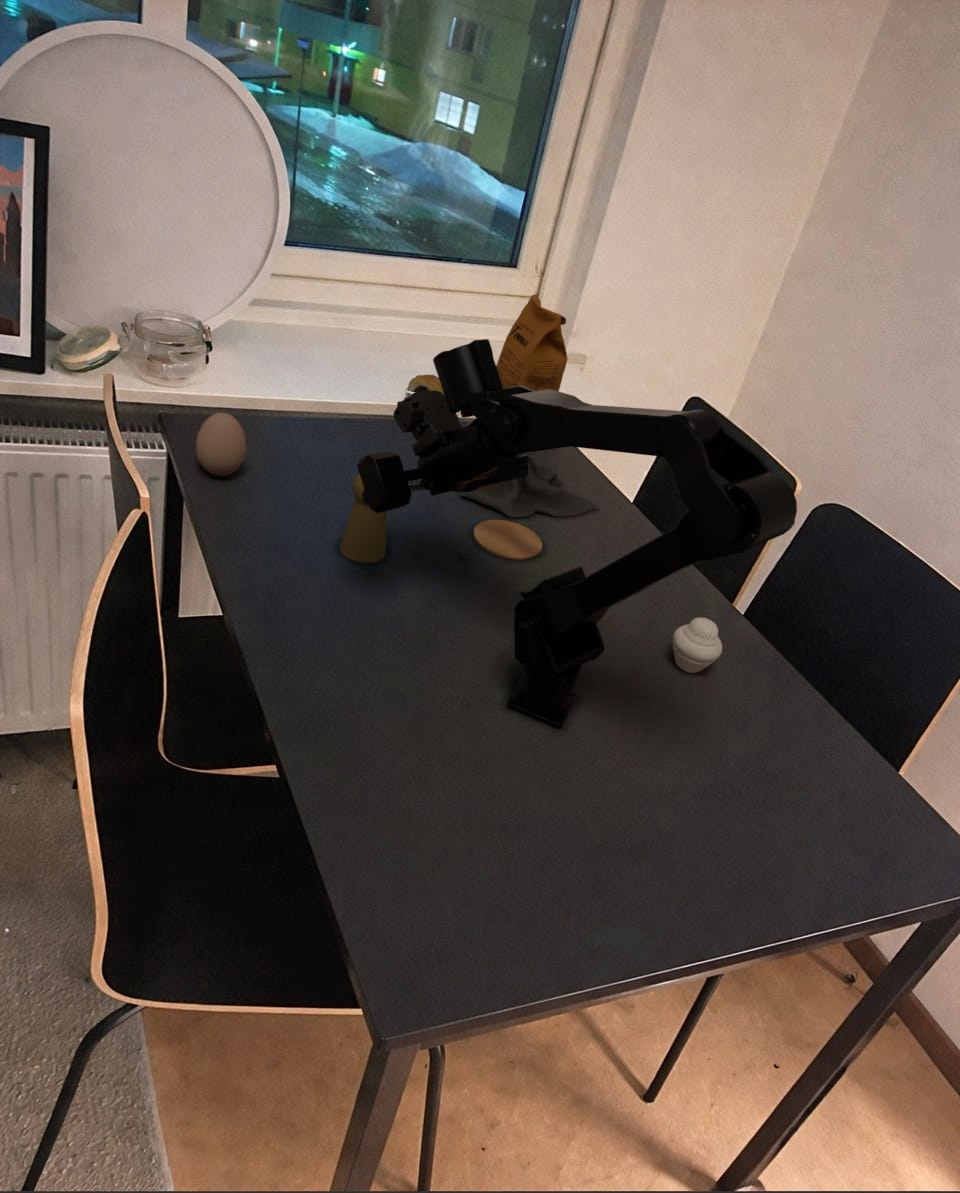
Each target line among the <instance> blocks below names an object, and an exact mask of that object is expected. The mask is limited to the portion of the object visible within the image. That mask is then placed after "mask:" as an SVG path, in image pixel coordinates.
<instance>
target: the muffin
mask: <svg viewBox="0 0 960 1193" xmlns="http://www.w3.org/2000/svg"><path fill="white" fill-rule="evenodd" d="M672 650H673V655H674V662H675V664H676V666H677V667H678V668H679V669H680V670H682V671H684V672H687V673H690V674H696V673H700V672H701V671H703V670H704V669H705V668H706V669H707V667H709V666H710V665H712V664H713V663H715V661H716V660H717V659H719V658H720V656H721V655H722V652H723V643H722V641H721V638H720V637H719V628H718V625H717V624H716V623H715V622H714V621H713V620H710V619H709V618H706V617H701V616H699V617H694V618H693V619H692V620H690V623H687V624H684V625H681V626H679V627H678V628H677V629H676V630H675V631H674V633H673V636H672Z"/></svg>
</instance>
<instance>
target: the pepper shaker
mask: <svg viewBox="0 0 960 1193" xmlns="http://www.w3.org/2000/svg"><path fill="white" fill-rule="evenodd" d="M351 487H352V488H351V489H352V494H353V496H354V500H353V503H352V507H351V509H350V513H349V516H348V519H347V522H346V524H345V525H346V526H345V529H344V530H343V531H344V532H343V536H342V538H341V541H340V544H339V550H340V553H341V554H342V556H344V557H345V558H348V559H349V560H351V561H355V562H357V563H363V564H373V563H377V562H380V561H383V559H384V558H385V557H386V552H387V527H388V526H387V525H388V524H387V523H388V522H387V521H388V511H384V512H380V513H376V512H374V511H373V510H371V508H370V505H369V504H367V503H365V502H364V500H363V497H362V493H363V491H364V486H363V483H362V480H361V477H360V474H359V473H358V474H357V475H356V476H355V477H354V479H353V481H352V486H351Z"/></svg>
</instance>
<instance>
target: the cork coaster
mask: <svg viewBox="0 0 960 1193" xmlns="http://www.w3.org/2000/svg"><path fill="white" fill-rule="evenodd" d="M472 534H473V538H474V540H475V542H476V543H477V544H478V546H480V548H482V549H483V550H485V551H486V552H488V553H490V554H492V555H494V556H497V557H500V558H503V559H508V560H516V561H524V560H525V561H526V560H530V559H533V558H536V557H537V556H539V555H540V554H541V552H542V550H543V542H542V539H541V538H540V537H539V536H538V535H537V533H536V532H534V531H533V530H531V529H530V528H528V527H527V526H525V525H522V524H519V523H517V522H513V521H509V520H504V519H487V520H484V521H481V522H479V523H477V524H476V525H475V527H474V529H473V533H472Z"/></svg>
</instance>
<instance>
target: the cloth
mask: <svg viewBox="0 0 960 1193" xmlns="http://www.w3.org/2000/svg"><path fill="white" fill-rule="evenodd" d="M525 454H526V455H528V456H529V461H528V466H529V470H528V475H527V476H525V477H521V478H517V479H513V480H509V481H505V482H504V481H501V483H498V484H496V485H494V486H492V487H488V488H483V489H479V490H474V491H470V492H460V495H461V497H462V498H465V499H469V500H472V501H474V502H477V503H479V504H481V505H484V506H487V507H488V508H491V509H494V510H496V511H498V512H500V513H502V514H504V515H505V516H507V517H509V518H514V519H515V518H516V519H517V518H519V519H520V518H528V517H531V516H532V515H534V514H535V513H542V514H545V515H549V516H553V517H557V518H558V517H559V518H564V517H565V518H566V517H568V518H569V517H575V516H579V515H582V514H585V513H588V512H590V511H593V510H596V506H595V505H593V504H592V503H590V502H588V501H587V500H585V499H583V498H582V497H580V496H577V495H575V494H573V493H571V492H570V491H568V490H566V489H565V488H563V487H561V486H559V485H560V484H561V482H560V481H559V478H558V473H557V472H556V470H554V469H553V468H552V467H550V466H548V465H545V464H543V463H541V462H538V461H537V462H536V461H535V459H534V457H533V456H532V454H531V453H529V452H527V453H525Z"/></svg>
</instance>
